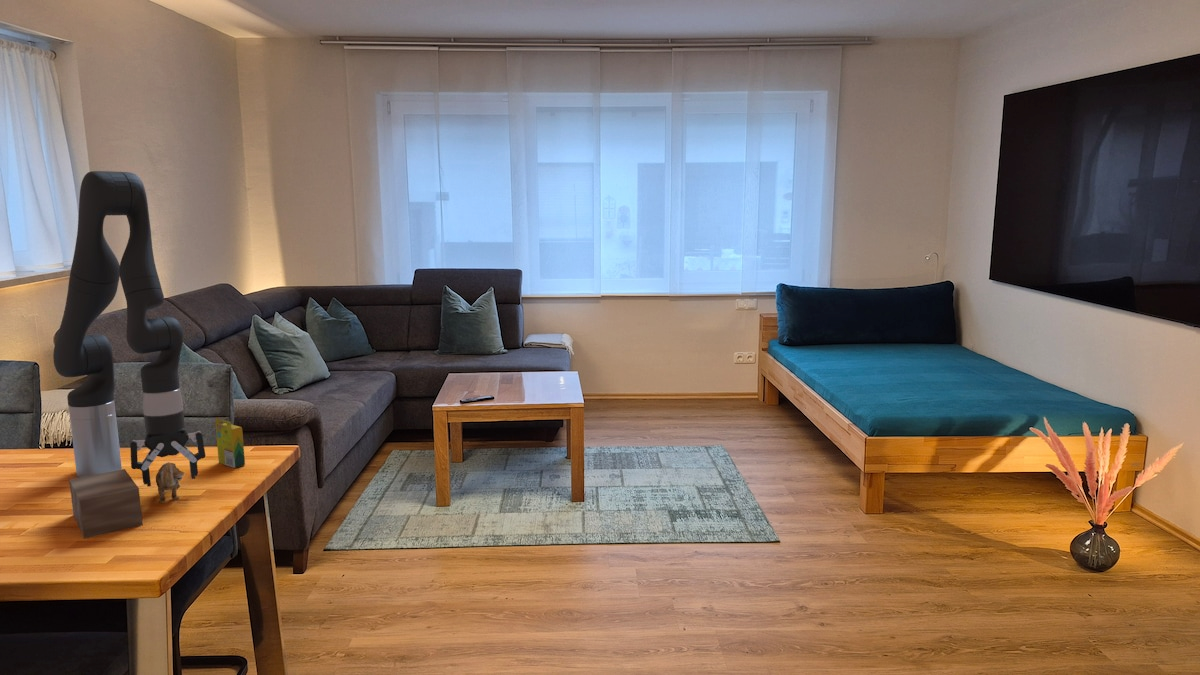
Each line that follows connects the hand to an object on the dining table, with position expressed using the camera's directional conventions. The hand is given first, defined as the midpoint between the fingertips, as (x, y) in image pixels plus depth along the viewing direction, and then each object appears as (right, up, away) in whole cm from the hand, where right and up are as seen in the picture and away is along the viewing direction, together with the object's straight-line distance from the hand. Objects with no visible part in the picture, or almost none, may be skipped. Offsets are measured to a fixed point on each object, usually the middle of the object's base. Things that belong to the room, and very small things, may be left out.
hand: (171, 481), depth 174 cm
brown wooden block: (-7, -6, -12) cm, 15 cm away
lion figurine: (-1, -4, +1) cm, 4 cm away
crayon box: (+3, 0, +22) cm, 22 cm away
